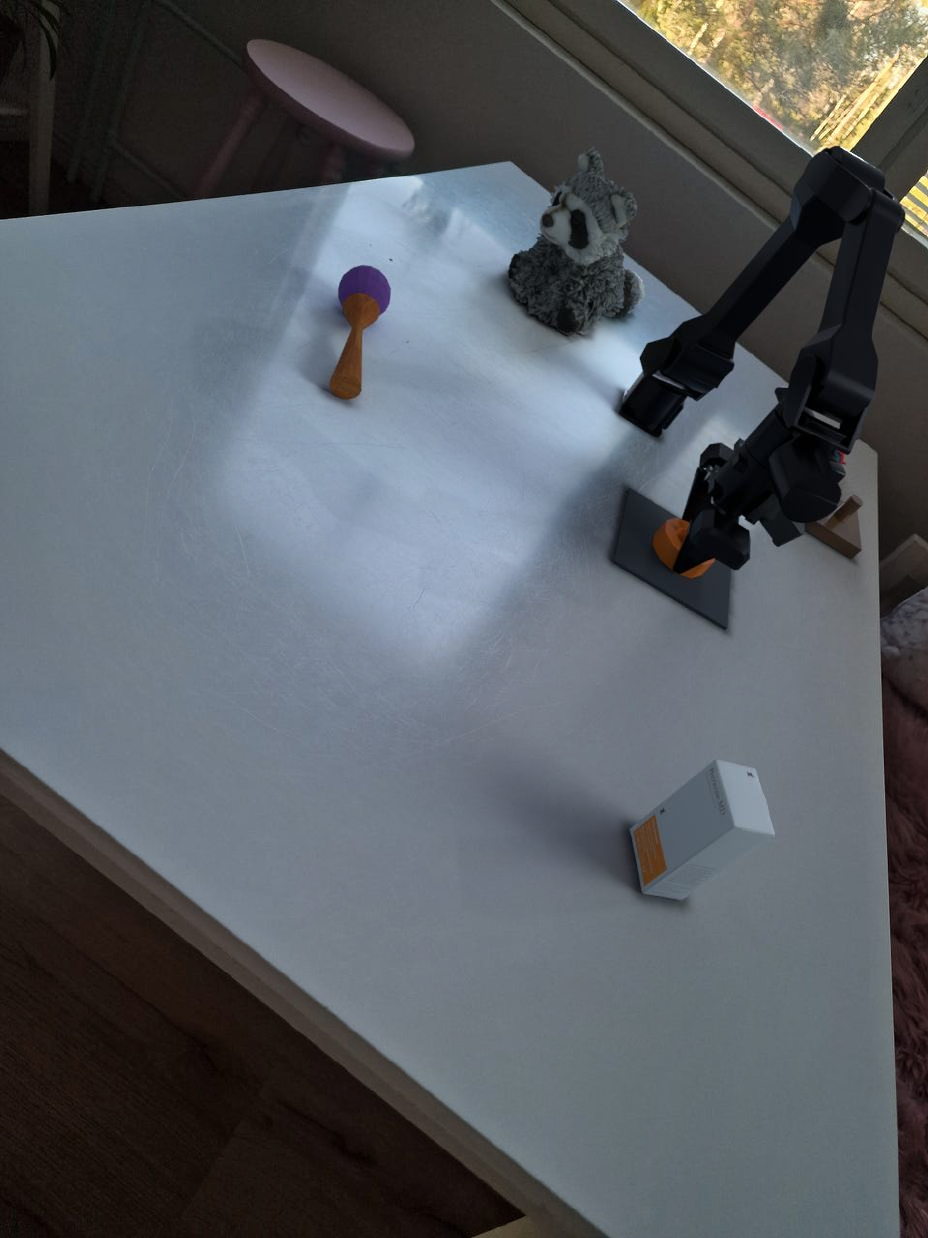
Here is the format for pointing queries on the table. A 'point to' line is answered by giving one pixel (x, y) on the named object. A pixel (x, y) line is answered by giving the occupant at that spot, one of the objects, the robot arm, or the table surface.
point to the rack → (840, 527)
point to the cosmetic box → (701, 830)
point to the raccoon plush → (580, 254)
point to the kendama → (358, 323)
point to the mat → (642, 561)
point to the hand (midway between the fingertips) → (678, 552)
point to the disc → (675, 546)
